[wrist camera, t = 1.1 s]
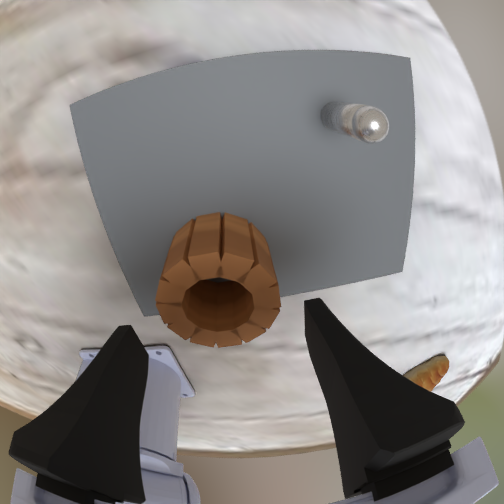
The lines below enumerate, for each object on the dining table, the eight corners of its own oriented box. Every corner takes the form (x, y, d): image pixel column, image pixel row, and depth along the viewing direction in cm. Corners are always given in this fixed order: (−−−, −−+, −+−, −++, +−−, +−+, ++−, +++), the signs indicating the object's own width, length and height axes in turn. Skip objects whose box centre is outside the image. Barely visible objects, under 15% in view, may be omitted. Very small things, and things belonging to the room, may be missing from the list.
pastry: (438, 344, 27) (452, 367, 23) (448, 359, 29) (460, 378, 26) (378, 388, 30) (388, 412, 26) (395, 397, 32) (404, 417, 29)
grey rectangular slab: (148, 302, 19) (144, 316, 18) (82, 103, 12) (69, 105, 10) (392, 260, 19) (402, 271, 18) (395, 59, 12) (410, 57, 10)
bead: (185, 303, 17) (178, 351, 14) (157, 223, 14) (138, 265, 11) (273, 289, 17) (284, 337, 14) (261, 204, 14) (273, 242, 11)
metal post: (321, 131, 13) (361, 148, 9) (319, 102, 12) (359, 106, 8) (349, 129, 13) (396, 146, 9) (347, 101, 12) (395, 107, 8)
